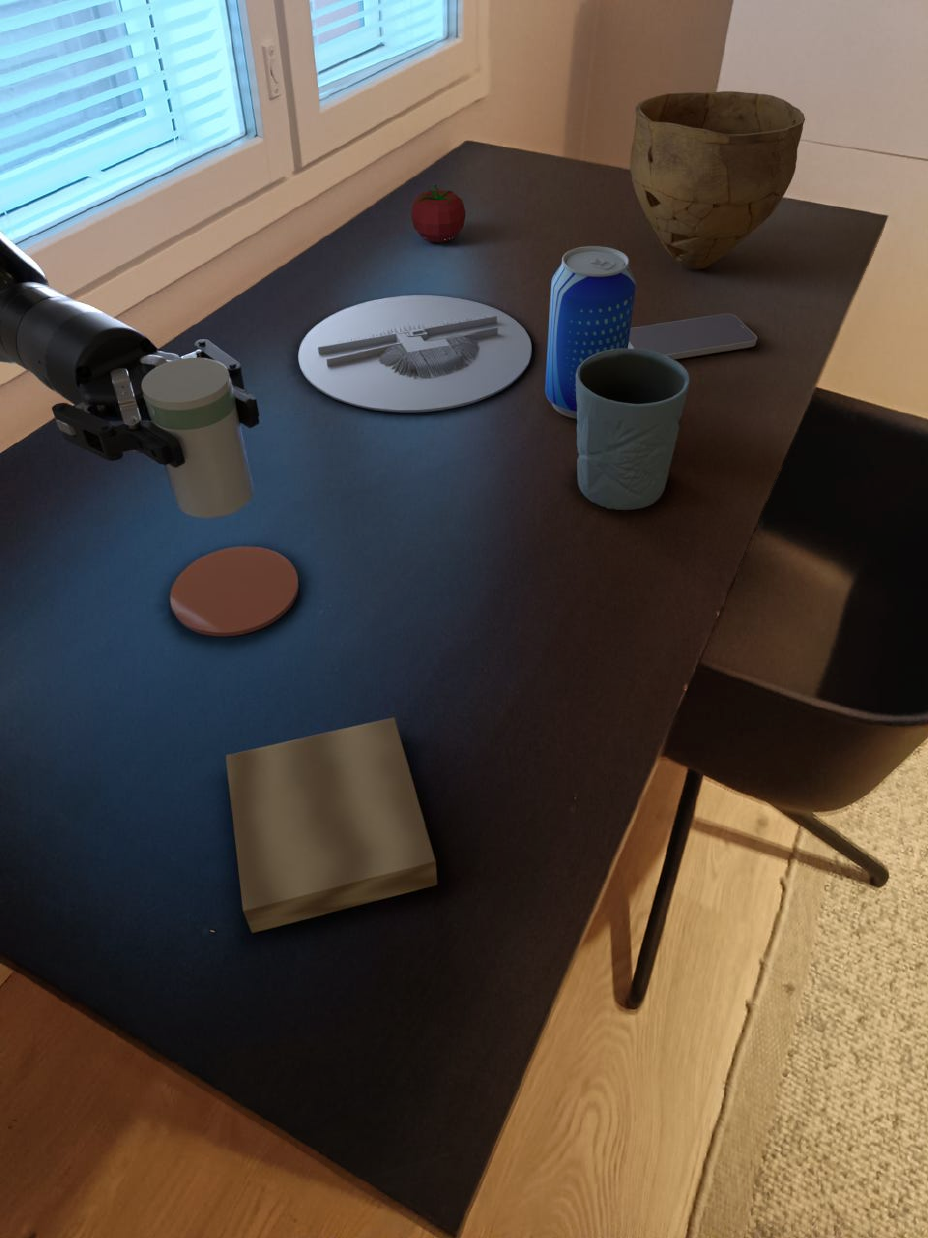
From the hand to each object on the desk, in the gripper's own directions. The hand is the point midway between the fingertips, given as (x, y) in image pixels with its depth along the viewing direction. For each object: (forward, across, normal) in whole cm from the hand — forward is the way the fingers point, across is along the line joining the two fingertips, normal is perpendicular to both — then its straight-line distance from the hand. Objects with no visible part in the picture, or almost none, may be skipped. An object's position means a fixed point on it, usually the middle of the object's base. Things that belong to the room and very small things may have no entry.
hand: (217, 433), depth 64 cm
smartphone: (+3, +64, +18) cm, 66 cm away
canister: (-2, 0, +6) cm, 7 cm away
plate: (-21, +41, +18) cm, 50 cm away
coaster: (-4, 0, +18) cm, 18 cm away
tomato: (-41, +67, +18) cm, 81 cm away
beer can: (+1, +45, +18) cm, 48 cm away
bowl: (-8, +83, +18) cm, 85 cm away
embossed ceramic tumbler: (+13, +35, +18) cm, 41 cm away
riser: (+20, -10, +18) cm, 29 cm away
